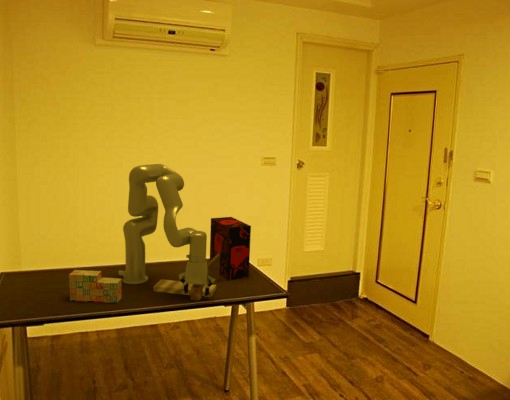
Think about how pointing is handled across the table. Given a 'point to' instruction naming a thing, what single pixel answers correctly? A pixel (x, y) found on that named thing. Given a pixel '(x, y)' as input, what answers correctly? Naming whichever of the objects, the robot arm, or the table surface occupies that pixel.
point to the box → (231, 246)
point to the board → (179, 287)
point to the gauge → (196, 291)
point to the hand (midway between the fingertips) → (196, 294)
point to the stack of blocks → (94, 287)
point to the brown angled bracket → (214, 267)
